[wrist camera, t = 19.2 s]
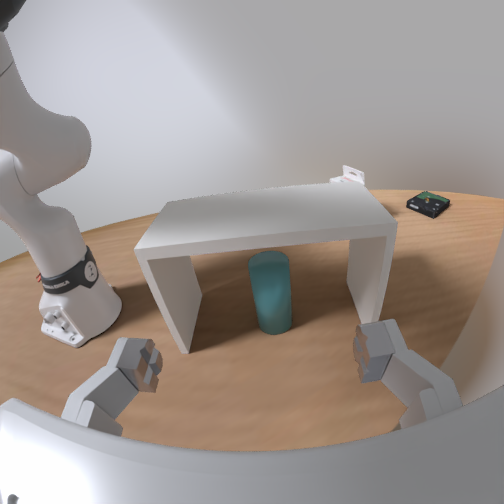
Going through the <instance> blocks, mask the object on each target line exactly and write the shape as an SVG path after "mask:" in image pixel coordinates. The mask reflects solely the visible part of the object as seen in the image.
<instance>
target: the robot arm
mask: <svg viewBox="0 0 504 504" xmlns="http://www.w3.org/2000/svg"><path fill="white" fill-rule="evenodd" d="M25 1H26V0H0V219H1V220H2V221H4V222H5V223H6V224H8V225H9V226H10V227H11V228H12V229H13V230H14V231H15V232H16V233H17V234H18V236H19V237H20V238H21V239H22V241H23V242H24V244H25V246H26V247H27V249H28V251H29V253H30V255H31V256H32V258H33V260H34V262H35V264H36V265H37V267H38V269H39V271H40V274H39V275H38V276H37V277H36V279H37V278H38V277H39V276H40V278H39V280H38V282H40V280H42V284H43V287H44V292H43V295H42V298H41V300H40V304H39V310H40V313H41V315H42V316H43V318H44V321H43V323H42V327H41V330H42V332H43V333H44V334H45V335H47V336H50V337H52V338H54V339H56V340H59V341H61V342H63V343H66V344H68V345H70V346H73V347H76V348H77V347H80V346H81V345H83V344H84V343H85V342H86V341H87V340H89V339H90V338H92V337H95V336H97V335H99V334H100V333H102V332H104V331H105V330H106V329H107V328H109V327H110V326H111V325H112V324H113V323H114V321H115V320H116V319H117V317H118V315H119V313H120V311H121V307H122V302H121V299H120V298H119V296H118V295H117V294H116V293H115V292H114V291H113V288H112V286H111V285H110V284H108V283H107V281H106V279H105V278H104V276H103V275H102V273H101V272H100V270H99V268H98V267H97V265H96V261H95V259H94V257H93V255H92V252H91V251H90V249H89V247H88V246H87V245H85V242H84V240H83V238H82V235H81V233H80V231H79V228H78V226H77V223H76V221H75V218H74V216H73V215H72V214H71V213H70V212H69V211H68V210H66V209H65V208H61V207H54V206H48V205H46V204H45V203H43V202H42V201H41V200H40V199H39V197H38V195H37V194H38V193H40V192H42V191H44V190H46V189H48V188H50V187H52V186H54V185H56V184H59V183H61V182H63V181H65V180H66V179H68V178H69V177H71V176H72V175H74V174H75V173H77V172H78V171H79V170H81V169H82V168H84V167H85V166H86V164H87V162H88V160H89V157H90V152H91V138H90V134H89V131H88V130H87V128H86V126H85V125H84V124H83V123H82V122H81V121H80V120H79V119H77V118H75V117H72V116H63V115H59V114H55V113H53V112H50V111H48V110H46V109H45V108H43V107H41V106H40V105H38V104H37V103H36V102H35V101H34V100H33V99H32V98H31V97H30V95H29V94H28V92H27V90H26V88H25V86H24V84H23V82H22V80H21V78H20V75H19V73H18V70H17V68H16V65H15V62H14V59H13V56H12V53H11V50H10V48H9V45H8V42H7V40H6V38H5V35H4V33H3V32H4V31H5V29H7V27H8V22H9V21H10V20H11V19H12V18H13V17H14V16H15V15H16V14H17V13H18V12H19V10H20V9H21V7H22V6H23V4H24V3H25ZM356 334H357V336H356V337H355V338H354V342H353V353H354V358H355V361H356V362H358V363H359V367H358V373H359V377H360V381H361V383H367V382H372V381H378V380H381V382H382V383H383V384H384V385H385V386H386V387H387V388H388V389H389V390H390V391H391V392H392V393H393V394H394V395H395V396H396V397H397V398H398V399H399V400H400V401H401V402H402V403H403V404H404V405H405V406H406V407H407V408H408V409H407V410H406V411H405V413H404V414H403V415H402V416H401V418H400V419H399V422H400V426H401V429H400V430H397V431H393V432H390V433H386V434H382V435H378V436H374V437H370V438H366V439H361V440H356V441H351V442H346V443H340V444H334V445H328V446H321V447H313V448H304V449H293V450H279V451H215V450H201V449H191V448H182V447H174V446H167V445H161V444H155V443H149V442H144V441H139V440H134V439H129V438H125V437H121V434H122V430H123V428H122V426H121V425H120V424H119V423H117V422H116V421H115V419H116V418H117V417H118V415H119V414H120V413H121V412H122V411H123V410H124V409H125V407H126V406H127V405H128V404H129V403H130V402H131V401H132V399H133V398H134V397H135V396H136V395H137V394H138V393H139V392H138V391H141V392H153V393H155V392H156V389H157V385H158V381H159V379H158V377H157V375H158V374H159V373H160V372H161V370H162V366H163V359H162V356H161V353H160V352H159V351H158V350H157V349H155V348H154V346H155V343H154V342H153V340H152V339H139V338H122V337H120V338H119V339H118V340H117V342H116V344H115V347H114V349H113V351H112V354H111V356H110V358H109V361H108V363H107V366H106V367H105V366H103V367H102V368H101V369H100V370H99V371H97V372H96V373H95V374H94V375H93V376H91V377H90V378H89V379H88V380H87V381H86V382H84V383H83V384H82V385H81V386H80V387H78V388H77V389H76V390H75V391H74V392H72V393H71V394H70V396H69V398H68V400H67V403H66V406H65V408H64V411H63V413H62V416H61V418H60V417H57V416H55V415H52V414H50V413H47V412H45V411H43V410H40V409H38V408H36V407H34V406H31V405H29V404H27V403H25V402H23V401H21V400H19V399H17V398H11V399H9V400H8V401H6V402H5V403H3V404H2V405H1V406H0V504H504V385H503V386H501V387H499V388H498V389H496V390H494V391H492V392H490V393H488V394H486V395H485V396H483V397H481V398H479V399H477V400H475V401H473V402H471V403H468V404H467V405H464V406H463V405H462V402H461V399H460V397H459V394H458V391H457V389H456V386H455V384H454V381H453V379H452V378H450V377H449V376H448V375H446V374H445V373H444V372H442V371H441V370H439V369H438V368H437V367H435V366H434V365H433V364H431V363H430V362H428V361H427V360H426V359H424V358H423V357H421V356H420V355H419V354H417V353H416V352H414V351H413V350H408V348H407V345H406V343H405V341H404V338H403V336H402V334H401V332H400V329H399V327H398V325H397V323H396V321H395V320H394V319H389V320H383V321H376V322H371V323H365V324H360V325H357V327H356Z"/></svg>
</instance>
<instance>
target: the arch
mask: <svg viewBox="0 0 504 504" xmlns="http://www.w3.org/2000/svg"><path fill="white" fill-rule="evenodd" d="M397 225H398V222H397V221H396V220H395V219H394V218H393V217H392V215H391V214H390V213H389V212H388V211H387V210H386V209H385V208H384V207H383V206H382V205H381V203H380V202H379V201H378V200H377V199H376V198H375V197H374V196H373V195H372V194H371V193H370V192H369V191H368V190H367V189H366V188H365V187H364V186H363V185H362V184H361V183H360V182H359V181H355V182H337V183H322V184H309V185H297V186H286V187H276V188H267V189H258V190H249V191H240V192H233V193H225V194H218V195H211V196H204V197H197V198H190V199H184V200H178V201H172V202H167V204H166V205H165V206H164V208H163V209H162V210H161V212H160V213H159V214H158V216H157V217H156V218H155V220H154V221H153V222H152V224H151V225H150V227H149V228H148V229H147V231H146V232H145V234H144V235H143V237H142V238H141V239H140V241H139V242H138V244H137V245H136V247H135V248H134V252H135V254H136V257H137V259H138V262H139V264H140V266H141V269H142V271H143V274H144V276H145V278H146V281H147V283H148V285H149V288H150V290H151V292H152V294H153V297H154V299H155V301H156V303H157V305H158V307H159V309H160V312H161V314H162V316H163V318H164V320H165V322H166V324H167V326H168V328H169V330H170V332H171V334H172V336H173V338H174V340H175V342H176V344H177V346H178V347H179V349H180V351H181V353H182V354H189V351H190V346H191V342H192V337H193V333H194V328H195V324H196V320H197V316H198V311H199V307H200V303H201V299H202V293H201V290H200V287H199V284H198V281H197V277H196V274H195V271H194V268H193V264H192V261H191V258H190V255H200V254H210V253H220V252H229V251H239V250H249V249H259V248H269V247H279V246H289V245H300V244H310V243H320V242H330V241H340V240H350V245H349V259H348V271H347V281H346V282H347V285H348V287H349V290H350V293H351V295H352V298H353V301H354V304H355V307H356V309H357V312H358V315H359V318H360V321H361V324H365V323H371V322H376V321H378V320H379V317H380V313H381V309H382V305H383V301H384V296H385V292H386V288H387V283H388V278H389V273H390V268H391V263H392V257H393V251H394V245H395V239H396V232H397Z"/></svg>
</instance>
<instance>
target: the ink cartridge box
mask: <svg viewBox="0 0 504 504" xmlns="http://www.w3.org/2000/svg"><path fill="white" fill-rule="evenodd" d="M343 172H344V176H340V177H336V178H331V179H330V183H337V182H355V181H359V182H360V183H361V184H362V185H363V186H364V187H365V184H364V173H363V172H361V171H358V170H356V169H354V168H351V167H348V166H345V165H343ZM350 172H354V173H356V174H357V176H355V175H352V174H350Z"/></svg>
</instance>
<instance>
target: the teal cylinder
mask: <svg viewBox="0 0 504 504" xmlns="http://www.w3.org/2000/svg"><path fill="white" fill-rule="evenodd" d="M248 268H249V274H250V280H251V285H252V291H253V297H254V302H255V308H256V314H257V319H258V325H259V328H260V329H261V330H262V331H263V332H265V333H267V334H271V335H277V334H281V333H284V332H286V331H287V330H288V329H289V328H290V327H291V325H292V303H291V286H290V270H289V259H288V257H287V256H286V255H285V254H283V253H281V252H278V251H265V252H261V253H258V254H256V255H254V256H253V257H252V258H251V259H250V260H249V262H248Z"/></svg>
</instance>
